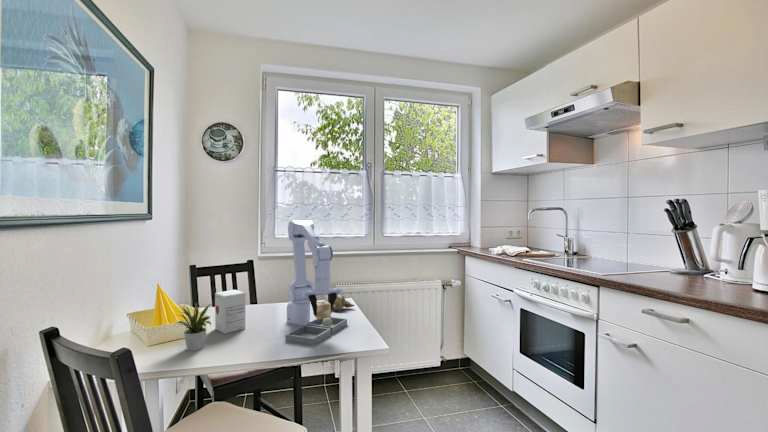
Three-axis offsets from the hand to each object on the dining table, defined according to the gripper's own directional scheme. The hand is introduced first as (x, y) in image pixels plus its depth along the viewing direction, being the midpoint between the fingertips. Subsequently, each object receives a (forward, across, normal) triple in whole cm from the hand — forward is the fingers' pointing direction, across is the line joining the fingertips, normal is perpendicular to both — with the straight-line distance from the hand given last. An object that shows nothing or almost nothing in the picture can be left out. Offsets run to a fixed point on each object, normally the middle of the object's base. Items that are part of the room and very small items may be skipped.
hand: (322, 314), depth 139 cm
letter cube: (+1, 0, 0) cm, 1 cm away
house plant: (+10, -44, +8) cm, 46 cm away
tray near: (+9, -5, +1) cm, 11 cm away
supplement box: (+10, -32, +26) cm, 42 cm away
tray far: (+9, +5, +11) cm, 15 cm away
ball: (+9, +5, +11) cm, 15 cm away
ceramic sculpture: (+10, +16, +39) cm, 43 cm away
